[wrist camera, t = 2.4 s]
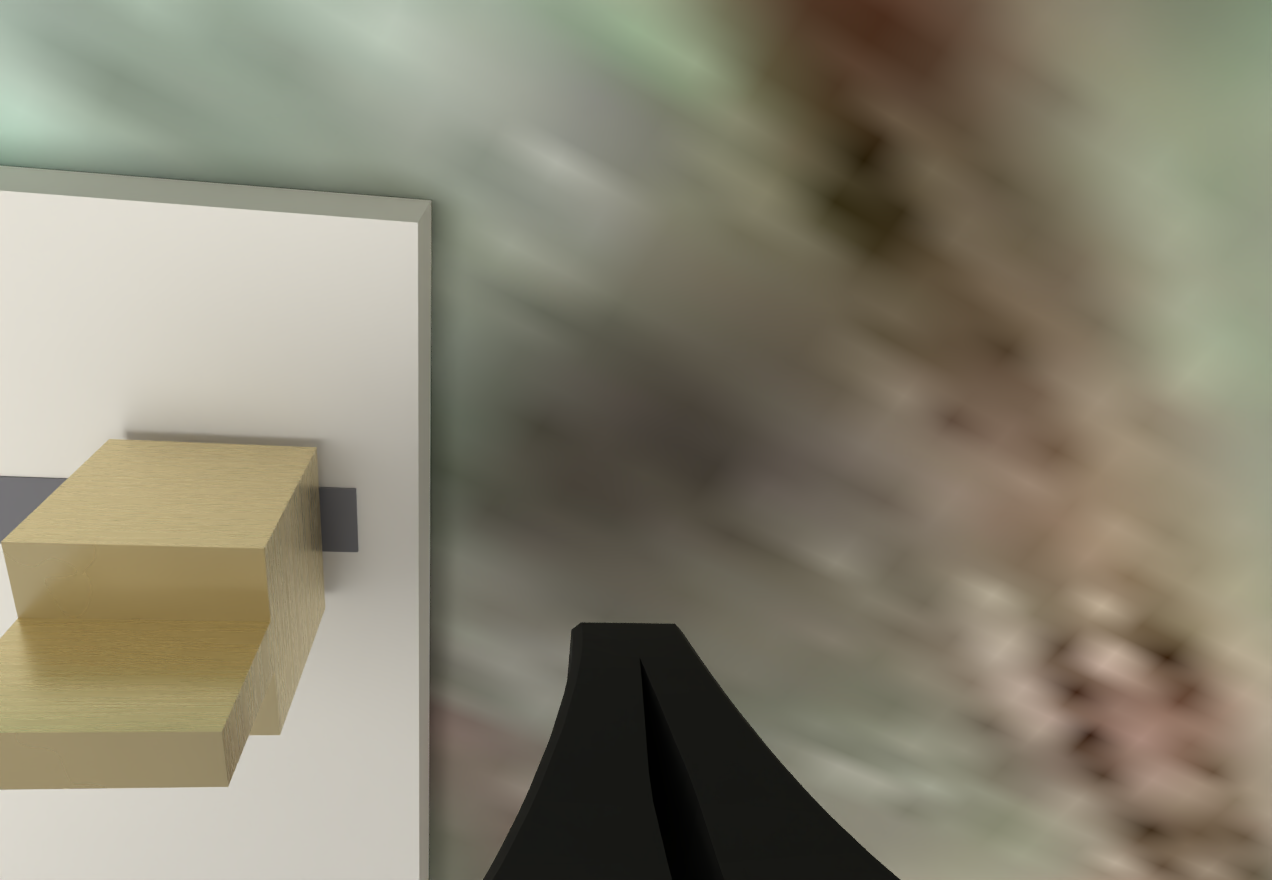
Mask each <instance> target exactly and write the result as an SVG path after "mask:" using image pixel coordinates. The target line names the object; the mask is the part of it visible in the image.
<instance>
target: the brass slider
mask: <svg viewBox="0 0 1272 880" xmlns="http://www.w3.org/2000/svg"><path fill="white" fill-rule="evenodd" d="M1 545H2V549H3V554H4V558H5V563H6V567H7V572H8V576H9V581H10V585H11V590H12V594H13V598H14V603H15V607H16V612H17V616H18V619H17V620H16V621H15V622H14V623H13V624H12V626H11V627H10V628H9V629H8V630H7V631H6V632H5V633H4V635H3V636H2V637H1V638H0V790H22V789H101V788H181V787H228V786H229V784H230V781H231V779H232V776H233V774H234V771H235V769H236V766H237V764H238V761H239V759H240V756H241V754H242V751H243V749H244V746H245V744H246V741H247V739H248V736H249V735H280V734H281V731H282V728H283V725H284V723H285V720H286V717H287V714H288V711H289V709H290V706H291V703H292V700H293V697H294V695H295V692H296V689H297V686H298V683H299V681H300V678H301V675H302V672H303V669H304V667H305V664H306V661H307V658H308V655H309V653H310V650H311V647H312V644H313V641H314V638H315V636H316V633H317V630H318V627H319V624H320V622H321V619H322V616H323V613H324V610H325V593H324V574H323V556H322V537H321V518H320V500H319V481H318V462H317V447H295V446H271V445H246V444H221V443H197V442H172V441H147V440H123V439H109V440H108V441H107V442H106V443H104V444H103V445H102V446H101V447H100V448H99V449H98V450H97V451H96V452H95V453H94V454H93V455H92V456H91V457H90V458H89V459H88V460H87V461H86V462H84V463H83V464H82V465H81V466H80V467H79V468H78V469H77V470H76V471H75V472H74V473H73V474H72V475H71V476H70V477H69V478H68V479H67V480H66V481H64V482H63V483H62V484H61V485H60V486H59V487H58V488H57V489H56V490H55V491H54V492H53V493H52V494H51V495H50V496H49V497H48V498H47V499H46V500H44V501H43V502H42V503H41V504H40V505H39V506H38V507H37V508H36V509H35V510H34V511H33V512H32V513H31V514H30V515H29V516H28V517H27V518H26V519H24V520H23V521H22V522H21V523H20V524H19V525H18V526H17V527H16V528H15V529H14V530H13V531H12V532H11V533H10V534H9V535H8V536H7V537H6V538H4V539H3V540H2V541H1Z"/></svg>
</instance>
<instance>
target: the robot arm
mask: <svg viewBox="0 0 1272 880" xmlns="http://www.w3.org/2000/svg"><path fill="white" fill-rule="evenodd" d="M483 880H900V879H899V878H898V877H896V876H895V875H894V874H893V873H892V872H891V871H889V870H888V869H887V868H886V867H885V866H884V865H883V864H881V863H880V862H879V861H878V860H877V859H876V858H875V857H873V856H872V855H871V854H870V853H869V852H868V851H867V850H866V849H865V848H864V847H863V846H861V845H860V844H859V843H858V842H857V841H856V840H855V839H854V838H853V837H852V836H851V835H850V834H849V833H848V832H847V831H846V830H845V829H843V828H842V827H841V826H840V825H839V824H838V823H837V822H836V821H835V820H834V819H833V818H832V817H831V816H830V815H829V814H828V813H827V812H826V811H825V810H824V809H823V808H822V807H821V806H820V805H819V804H818V803H817V802H816V801H815V799H814V798H813V797H812V796H811V795H810V794H809V793H808V792H807V791H806V790H805V789H804V788H803V787H802V785H801V784H800V783H799V782H798V781H797V780H796V779H795V778H794V777H793V775H792V774H791V773H790V772H789V771H788V770H787V769H786V768H785V767H784V765H783V764H782V763H781V762H780V761H779V760H778V759H777V757H776V756H775V755H774V754H773V753H772V751H771V750H770V749H769V748H768V747H767V746H766V744H765V743H764V742H763V741H762V739H761V738H760V737H759V736H758V734H757V733H756V732H755V731H754V729H753V728H752V727H751V726H750V724H749V723H748V722H747V721H746V719H745V718H744V717H743V716H742V714H741V713H740V712H739V711H738V709H737V708H736V707H735V706H734V704H733V703H732V702H731V700H730V699H729V698H728V696H727V695H726V694H725V692H724V691H723V690H722V688H721V687H720V685H719V684H718V683H717V681H716V680H715V679H714V677H713V676H712V675H711V673H710V672H709V670H708V669H707V667H706V666H705V665H704V663H703V662H702V660H701V659H700V657H699V656H698V655H697V653H696V652H695V650H694V649H693V647H692V646H691V644H690V643H689V641H688V640H687V638H686V637H685V635H684V634H683V632H682V631H681V630H680V629H679V628H678V627H677V626H676V625H675V624H648V623H580V624H579V625H577V626H576V627H575V628H573V629H572V631H571V643H570V655H569V667H568V679H567V684H566V688H565V692H564V696H563V699H562V702H561V705H560V708H559V712H558V715H557V718H556V721H555V724H554V728H553V731H552V734H551V737H550V739H549V742H548V745H547V747H546V750H545V752H544V755H543V757H542V759H541V762H540V764H539V767H538V769H537V772H536V774H535V777H534V779H533V782H532V784H531V786H530V789H529V791H528V793H527V796H526V798H525V800H524V802H523V804H522V806H521V809H520V811H519V813H518V815H517V817H516V819H515V821H514V823H513V825H512V827H511V829H510V831H509V833H508V835H507V837H506V839H505V841H504V843H503V845H502V847H501V849H500V850H499V852H498V854H497V856H496V858H495V860H494V862H493V863H492V865H491V867H490V869H489V870H488V872H487V874H486V876H485V877H484V879H483Z"/></svg>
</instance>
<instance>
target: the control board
mask: <svg viewBox="0 0 1272 880" xmlns="http://www.w3.org/2000/svg"><path fill="white" fill-rule="evenodd" d="M109 439H123V440H147V441H172V442H197V443H221V444H246V445H271V446H295V447H317V462H318V481H319V500H320V518H321V537H322V556H323V574H324V593H325V610H324V613H323V616H322V619H321V622H320V624H319V627H318V630H317V633H316V636H315V638H314V641H313V644H312V647H311V650H310V653H309V655H308V658H307V661H306V664H305V667H304V669H303V672H302V675H301V678H300V681H299V683H298V686H297V689H296V692H295V695H294V697H293V700H292V703H291V706H290V709H289V711H288V714H287V717H286V720H285V723H284V725H283V728H282V731H281V734H280V735H249V736H248V739H247V741H246V744H245V746H244V749H243V751H242V754H241V756H240V759H239V761H238V764H237V766H236V769H235V771H234V774H233V776H232V779H231V781H230V784H229V786H228V787H181V788H101V789H22V790H0V880H429V698H430V448H431V200H421V199H409V198H397V197H384V196H372V195H360V194H347V193H335V192H322V191H310V190H298V189H285V188H273V187H261V186H248V185H236V184H223V183H211V182H199V181H186V180H174V179H162V178H149V177H137V176H124V175H112V174H100V173H87V172H75V171H63V170H50V169H38V168H26V167H13V166H1V165H0V638H1V637H2V636H3V635H4V633H5V632H6V631H7V630H8V629H9V628H10V627H11V626H12V624H13V623H14V622H15V621H16V620H17V619H18V616H17V612H16V607H15V603H14V598H13V594H12V590H11V585H10V581H9V576H8V572H7V567H6V563H5V558H4V554H3V549H2V545H1V541H2V540H3V539H4V538H6V537H7V536H8V535H9V534H10V533H11V532H12V531H13V530H14V529H15V528H16V527H17V526H18V525H19V524H20V523H21V522H22V521H23V520H24V519H26V518H27V517H28V516H29V515H30V514H31V513H32V512H33V511H34V510H35V509H36V508H37V507H38V506H39V505H40V504H41V503H42V502H43V501H44V500H46V499H47V498H48V497H49V496H50V495H51V494H52V493H53V492H54V491H55V490H56V489H57V488H58V487H59V486H60V485H61V484H62V483H63V482H64V481H66V480H67V479H68V478H69V477H70V476H71V475H72V474H73V473H74V472H75V471H76V470H77V469H78V468H79V467H80V466H81V465H82V464H83V463H84V462H86V461H87V460H88V459H89V458H90V457H91V456H92V455H93V454H94V453H95V452H96V451H97V450H98V449H99V448H100V447H101V446H102V445H103V444H104V443H106V442H107V441H108V440H109Z"/></svg>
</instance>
